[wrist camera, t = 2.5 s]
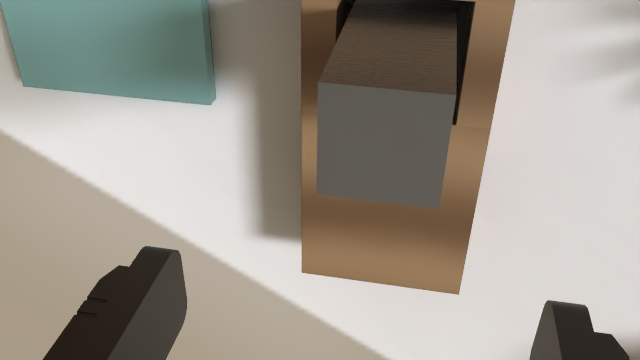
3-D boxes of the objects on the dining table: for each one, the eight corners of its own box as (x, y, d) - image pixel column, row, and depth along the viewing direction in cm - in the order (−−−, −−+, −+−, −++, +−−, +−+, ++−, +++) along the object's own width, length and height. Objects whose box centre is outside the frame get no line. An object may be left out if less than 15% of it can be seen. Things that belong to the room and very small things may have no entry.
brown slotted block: (319, -314, 21) (301, -325, 18) (563, -314, 20) (578, -327, 17) (313, 236, 34) (301, 272, 32) (458, 255, 33) (458, 294, 31)
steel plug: (361, -14, 26) (317, 82, 18) (457, -8, 26) (456, 95, 17) (357, 73, 28) (316, 194, 20) (444, 81, 28) (438, 208, 20)
